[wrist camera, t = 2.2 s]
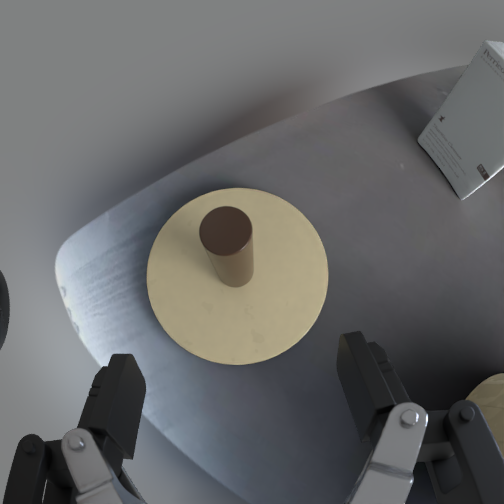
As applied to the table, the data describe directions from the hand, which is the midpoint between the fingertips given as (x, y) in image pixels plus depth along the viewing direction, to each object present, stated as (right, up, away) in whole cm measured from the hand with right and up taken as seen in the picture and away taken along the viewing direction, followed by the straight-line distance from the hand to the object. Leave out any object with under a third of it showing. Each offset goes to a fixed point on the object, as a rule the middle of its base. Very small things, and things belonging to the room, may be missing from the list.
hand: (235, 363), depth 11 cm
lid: (-1, +3, +11) cm, 12 cm away
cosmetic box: (+22, +14, +15) cm, 30 cm away
